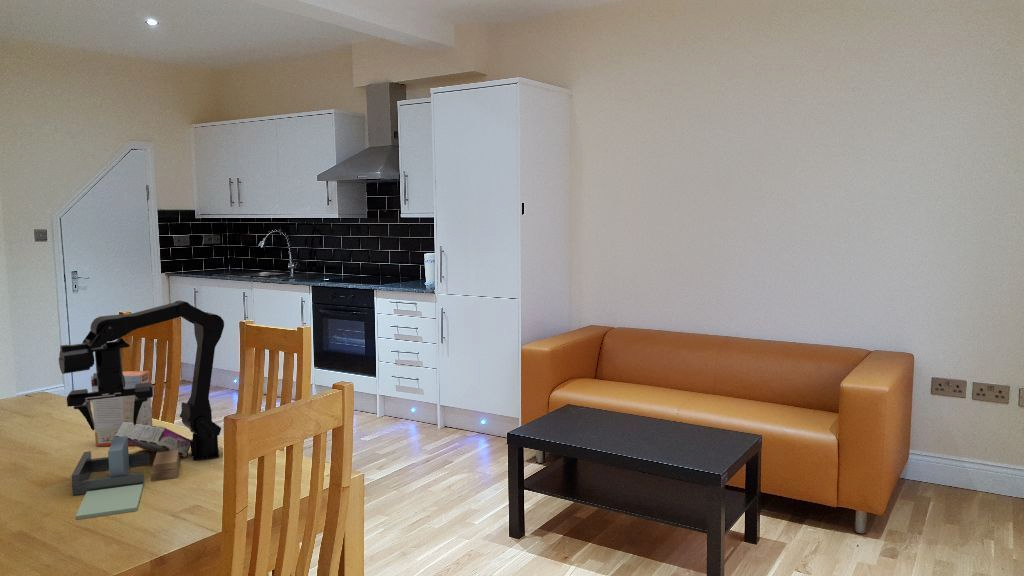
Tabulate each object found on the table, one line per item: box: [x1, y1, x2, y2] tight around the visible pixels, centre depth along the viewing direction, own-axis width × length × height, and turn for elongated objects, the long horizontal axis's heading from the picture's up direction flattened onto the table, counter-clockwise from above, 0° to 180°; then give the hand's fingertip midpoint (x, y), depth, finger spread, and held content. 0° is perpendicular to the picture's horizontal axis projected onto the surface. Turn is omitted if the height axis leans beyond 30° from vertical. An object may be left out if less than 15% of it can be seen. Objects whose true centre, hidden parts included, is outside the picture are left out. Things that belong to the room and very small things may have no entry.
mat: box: [75, 484, 144, 520], centre depth 167 cm, size 12×15×1 cm
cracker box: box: [90, 370, 153, 447], centre depth 208 cm, size 14×6×21 cm, turn 92°
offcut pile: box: [150, 450, 181, 482], centre depth 186 cm, size 6×12×4 cm, turn 22°
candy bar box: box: [115, 421, 191, 458], centre depth 197 cm, size 11×5×16 cm
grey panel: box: [107, 436, 131, 477], centre depth 182 cm, size 3×12×9 cm, turn 22°
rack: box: [70, 451, 151, 497], centre depth 182 cm, size 15×18×5 cm
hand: (114, 427), depth 182 cm, fingers open, 9 cm apart
